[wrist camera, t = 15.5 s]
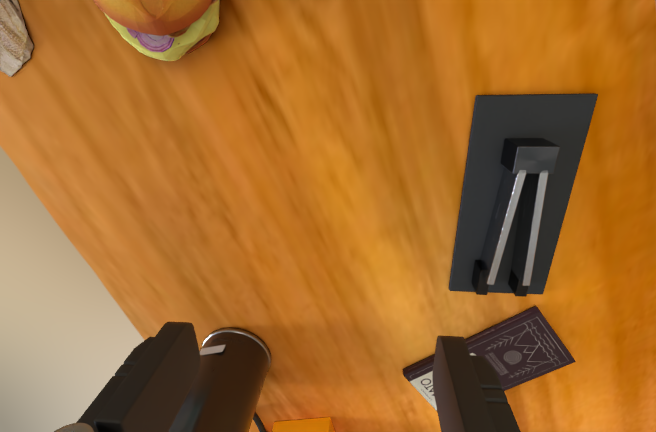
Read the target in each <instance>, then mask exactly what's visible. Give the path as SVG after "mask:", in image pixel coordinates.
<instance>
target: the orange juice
mask: <svg viewBox="0 0 656 432" xmlns="http://www.w3.org/2000/svg"><path fill="white" fill-rule="evenodd" d="M272 432H335V429H334V426H333V423H332V421H331V418H330V417H324V418H313V419H301V420H290V421H278V422H274V426H273V430H272Z"/></svg>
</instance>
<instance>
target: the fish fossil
mask: <svg viewBox="0 0 656 432" xmlns="http://www.w3.org/2000/svg"><path fill="white" fill-rule="evenodd" d="M32 50H33V44H32V42H31V40H30V38H29V36H28V34H27V30H26V28H25V24H24V20H23V17H22V13H21V11H20V7H19V4H18V2H17V0H0V71H2V72H4V73H6V74H7V75H8V76H12V75H13V74H14V73H15V72H16V71H17V70H18V69H20V68H21V65H22V64H23V63H24V62H26V61H27V60H28V59H30V53H31V51H32Z"/></svg>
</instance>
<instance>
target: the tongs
mask: <svg viewBox="0 0 656 432" xmlns="http://www.w3.org/2000/svg"><path fill="white" fill-rule="evenodd" d="M559 150H560V146H558V145H556V144H554V143H552V142H550V141H548V140H546V139H544V138H505V140H504V146H503V151H502V157H501V162H500V163H501V164H502V165H503V166H504V170H503V173H502V177H501V181H500V185H499V189H498V192H497V196H496V200H495V204H494V208H493V211H492V215H491V219H490V223H489V227H488V231H487V234H486V238H485V242H484V246H483V250H482V253H481V257H480V260H475V263H474V269H473V275H472V281H471V283H472V285H473V287H474V290H475V292H476V294H480V295H487V292H488V287H489V284H490V285H494V282H495V279H496V275H497V272H498V268H499V265H500V262H501V258H502V255H503V251H504V248H505V244H506V241H507V238H508V234H509V231H510V227H511V224H512V220H513V217H514V214H515V210H516V207H517V203H518V200H519V196H520V193H521V199H520V206H519V214H518V221H517V229H516V236H515V243H514V251H513V258H512V265H511V272H510V277H509V281H508V285H509V286H510V288H511V290H512V291H513V293H514V294H515V296H526V295H527V291H528V287H529V286H530V281H531V275H532V269H533V263H534V257H535V251H536V245H537V239H538V233H539V227H540V221H541V214H542V208H543V202H544V196H545V190H546V184H547V178H548V174H554V170H555V166H556V162H557V158H558V154H559ZM521 190H522V192H521Z"/></svg>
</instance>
